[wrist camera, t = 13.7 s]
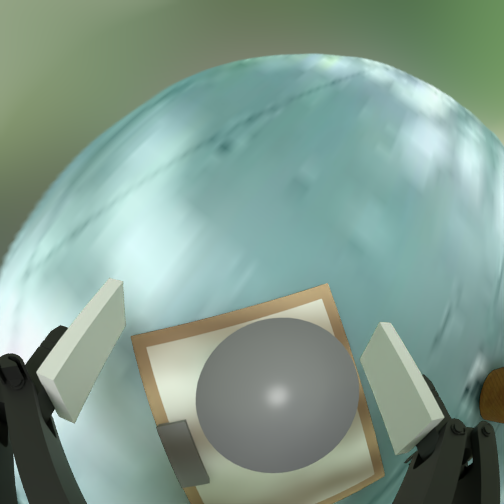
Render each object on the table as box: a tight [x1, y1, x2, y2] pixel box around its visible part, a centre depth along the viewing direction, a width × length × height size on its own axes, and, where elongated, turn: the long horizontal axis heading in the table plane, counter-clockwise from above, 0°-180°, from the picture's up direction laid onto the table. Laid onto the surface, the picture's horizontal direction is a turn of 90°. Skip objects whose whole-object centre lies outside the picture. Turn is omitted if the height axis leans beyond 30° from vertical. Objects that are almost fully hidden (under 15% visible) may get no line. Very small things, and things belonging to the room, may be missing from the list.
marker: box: [196, 318, 359, 473], centre depth 11 cm, size 4×4×13 cm
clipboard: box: [131, 283, 385, 504], centre depth 16 cm, size 18×15×2 cm
